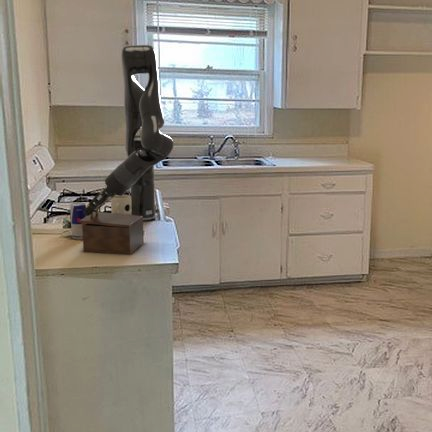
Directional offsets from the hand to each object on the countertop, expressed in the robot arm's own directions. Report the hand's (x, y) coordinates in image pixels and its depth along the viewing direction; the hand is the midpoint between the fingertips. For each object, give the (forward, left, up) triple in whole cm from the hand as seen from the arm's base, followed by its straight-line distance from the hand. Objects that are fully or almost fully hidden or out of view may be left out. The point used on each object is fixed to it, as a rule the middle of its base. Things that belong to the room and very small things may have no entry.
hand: (89, 211), depth 189 cm
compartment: (0, +8, -12) cm, 14 cm away
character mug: (-20, +3, -12) cm, 23 cm away
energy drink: (-9, -8, -12) cm, 17 cm away
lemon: (-28, -12, -12) cm, 33 cm away
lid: (0, +8, -3) cm, 8 cm away
